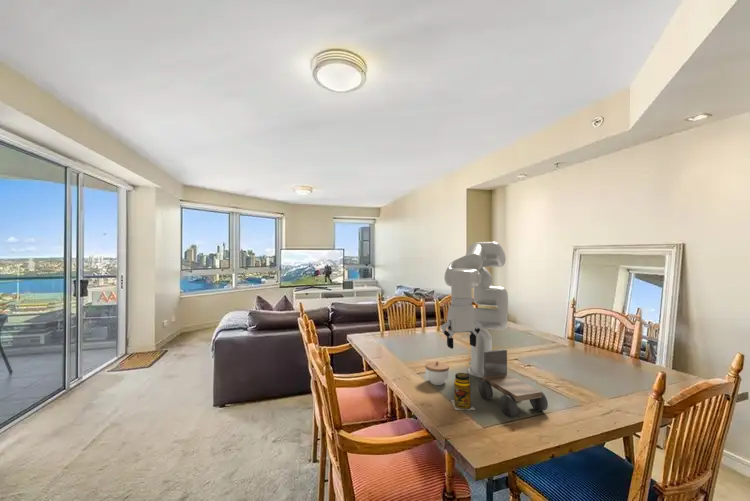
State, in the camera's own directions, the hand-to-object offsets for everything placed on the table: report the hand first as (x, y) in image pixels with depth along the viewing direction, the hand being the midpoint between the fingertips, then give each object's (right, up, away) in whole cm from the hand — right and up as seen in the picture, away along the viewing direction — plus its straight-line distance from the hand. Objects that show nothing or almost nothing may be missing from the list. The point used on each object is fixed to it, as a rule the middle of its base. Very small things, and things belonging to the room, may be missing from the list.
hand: (461, 346), depth 128 cm
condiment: (0, -23, 0) cm, 23 cm away
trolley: (+19, -22, 0) cm, 29 cm away
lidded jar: (-5, -23, +23) cm, 32 cm away
